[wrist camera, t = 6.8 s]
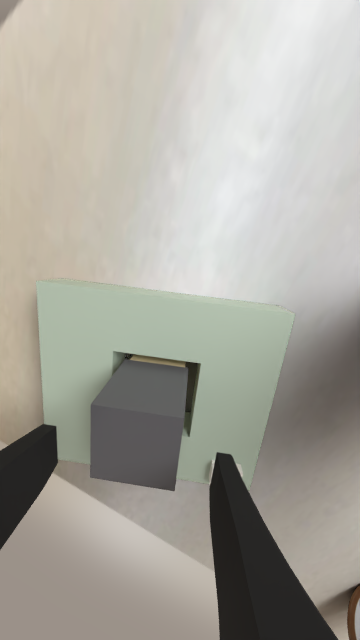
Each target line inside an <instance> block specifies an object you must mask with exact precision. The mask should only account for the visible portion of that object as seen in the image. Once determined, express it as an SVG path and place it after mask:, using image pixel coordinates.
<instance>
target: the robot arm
mask: <svg viewBox="0 0 360 640" xmlns="http://www.w3.org/2000/svg"><path fill="white" fill-rule="evenodd" d="M57 463H58V452H57V428H56V426H53V425H47V424H43V425H41V426H39V427H38V428H36V429H34V430H33V431H31V432H30V433H28V434H26V435H25V436H23V437H22V438H20V439H18V440H17V441H15V442H14V443H12V444H10V445H9V446H7V447H6V448H4V449H2V450H1V451H0V549H1V548H2V547H3V545H4V544H5V542H6V541H7V539H8V538H9V537H10V535H11V534H12V532H13V531H14V530H15V528H16V527H17V525H18V524H19V522H20V521H21V520H22V518H23V517H24V515H25V514H26V513H27V511H28V510H29V508H30V507H31V505H32V504H33V503H34V501H35V500H36V498H37V497H38V495H39V494H40V492H41V491H42V489H43V488H44V486H45V484H46V483H47V481H48V479H49V477H50V476H51V474H52V472H53V470H54V468H55V467H56V465H57ZM210 525H211V536H212V547H213V557H214V568H215V578H216V588H217V599H218V612H219V630H220V640H338V638H337V637H336V636H335V634H334V633H333V631H332V630H331V628H330V627H329V626H328V624H327V623H326V621H325V620H324V618H323V617H322V616H321V614H320V613H319V611H318V609H317V608H316V606H315V605H314V603H313V602H312V600H311V599H310V597H309V596H308V594H307V593H306V591H305V590H304V588H303V587H302V585H301V583H300V582H299V580H298V579H297V577H296V576H295V574H294V572H293V571H292V569H291V568H290V566H289V564H288V563H287V561H286V559H285V558H284V556H283V554H282V553H281V551H280V549H279V548H278V546H277V544H276V542H275V540H274V539H273V537H272V535H271V533H270V532H269V530H268V528H267V526H266V524H265V523H264V521H263V519H262V517H261V515H260V513H259V511H258V509H257V507H256V505H255V504H254V502H253V500H252V498H251V496H250V494H249V492H248V490H247V487H246V485H245V483H244V481H243V479H242V477H241V475H240V472H239V470H238V468H237V466H236V463H235V461H234V458H233V456H232V455H231V454H226V453H220V452H217V453H216V458H215V463H214V468H213V473H212V478H211V483H210Z"/></svg>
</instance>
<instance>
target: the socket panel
mask: <svg viewBox="0 0 360 640" xmlns="http://www.w3.org/2000/svg"><path fill="white" fill-rule="evenodd" d="M36 289H37V306H38V324H39V342H40V359H41V377H42V394H43V412H44V424H47V425H53V426H56V428H57V452H58V460H65V461H71V462H77V463H83V464H89V465H90V435H91V403H92V402H93V401H94V399H95V398H96V397H97V395H98V394H99V393H100V391H101V390H102V389H103V388H104V386H105V385H106V384H107V382H108V381H109V380H110V378H111V377H112V376H113V374H114V373H115V372H116V370H117V369H118V368H119V366H120V365H121V364H122V363H123V361H124V360H125V353H130V354H137V355H144V356H152V357H159V358H166V359H173V360H180V361H187V362H194V363H198V367H197V373H196V380H195V387H194V393H193V400H192V407H191V413H190V412H185V417H184V425H183V432H182V440H181V447H180V454H179V462H178V469H177V476H176V479H180V480H186V481H192V482H198V483H204V484H209V485H210V483H211V478H212V473H213V468H214V463H215V458H216V453H217V452H220V453H226V454H231V455H232V456H233V458H234V461H235V463H236V466H237V468H238V470H239V472H240V475H241V477H242V479H243V481H244V483H245V485H246V487H247V490H248V491H249V490H250V486H251V482H252V479H253V475H254V471H255V467H256V463H257V459H258V456H259V452H260V448H261V444H262V440H263V436H264V433H265V429H266V425H267V421H268V417H269V414H270V410H271V406H272V402H273V398H274V394H275V391H276V387H277V383H278V379H279V375H280V371H281V368H282V364H283V360H284V356H285V352H286V349H287V345H288V341H289V337H290V333H291V329H292V326H293V322H294V318H295V313H293V312H290V311H288V310H286V309H284V308H282V307H280V306H277V305H269V304H261V303H253V302H245V301H237V300H229V299H221V298H213V297H205V296H197V295H189V294H181V293H173V292H165V291H157V290H149V289H141V288H134V287H126V286H118V285H110V284H102V283H94V282H86V281H78V280H70V279H52V280H42V281H36Z"/></svg>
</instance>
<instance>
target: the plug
mask: <svg viewBox="0 0 360 640" xmlns="http://www.w3.org/2000/svg"><path fill="white" fill-rule="evenodd" d="M185 364H186V361H180V360H173V359H166V358H159V357H152V356H144V355H137V354H134V355H133V356H132V358H131V359H130V360H127V359H125V360H124V361H123V363H122V364H121V365H120V366H119V368H118V369H117V370H116V372H115V373H114V374H113V376H112V377H111V378H110V380H109V381H108V382H107V384H106V385H105V386H104V388H103V389H102V390H101V391H100V393H99V394H98V395H97V397H96V398H95V399H94V401H93V402H92V403H91V435H90V478H97V479H103V480H109V481H115V482H121V483H127V484H133V485H140V486H146V487H152V488H158V489H164V490H170V491H175V484H176V476H177V469H178V462H179V454H180V447H181V440H182V432H183V425H184V417H185V405H186V392H187V379H188V368H186V367H185Z"/></svg>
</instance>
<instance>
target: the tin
mask: <svg viewBox="0 0 360 640" xmlns="http://www.w3.org/2000/svg"><path fill="white" fill-rule="evenodd" d="M347 625H348V635H349V640H360V585H359V586H358V587H357V588H356V589H355V591H354V592H353V594H352V596H351V599H350V602H349V607H348V616H347Z"/></svg>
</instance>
